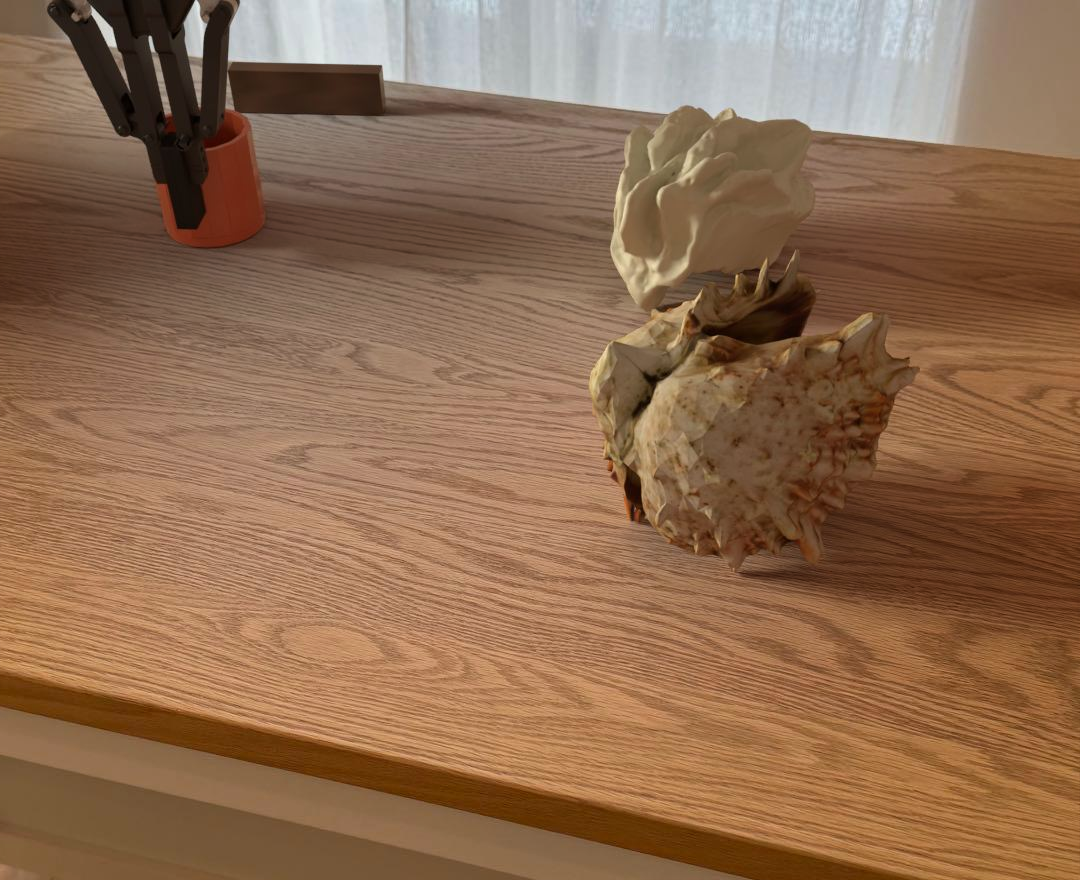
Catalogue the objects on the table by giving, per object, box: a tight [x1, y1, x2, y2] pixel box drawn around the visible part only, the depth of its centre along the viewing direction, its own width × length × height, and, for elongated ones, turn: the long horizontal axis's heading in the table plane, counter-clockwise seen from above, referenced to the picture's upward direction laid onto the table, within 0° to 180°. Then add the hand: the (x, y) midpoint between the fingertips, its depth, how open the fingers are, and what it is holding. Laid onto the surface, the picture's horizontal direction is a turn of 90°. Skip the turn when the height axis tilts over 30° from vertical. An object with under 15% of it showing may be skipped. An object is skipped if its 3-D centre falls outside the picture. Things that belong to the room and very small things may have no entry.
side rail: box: [227, 61, 387, 116], centre depth 115 cm, size 14×2×4 cm, turn 87°
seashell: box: [588, 249, 921, 573], centre depth 70 cm, size 18×18×15 cm
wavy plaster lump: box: [609, 104, 817, 312], centre depth 92 cm, size 18×13×16 cm
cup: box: [153, 106, 267, 248], centre depth 99 cm, size 8×8×8 cm
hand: (191, 220), depth 95 cm, fingers closed
